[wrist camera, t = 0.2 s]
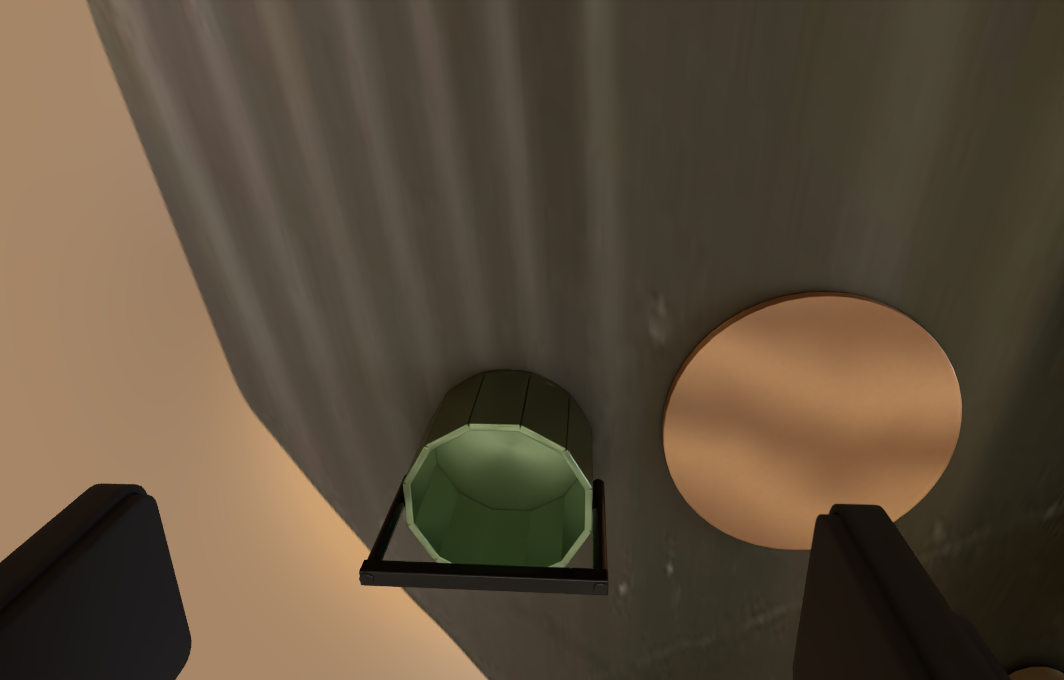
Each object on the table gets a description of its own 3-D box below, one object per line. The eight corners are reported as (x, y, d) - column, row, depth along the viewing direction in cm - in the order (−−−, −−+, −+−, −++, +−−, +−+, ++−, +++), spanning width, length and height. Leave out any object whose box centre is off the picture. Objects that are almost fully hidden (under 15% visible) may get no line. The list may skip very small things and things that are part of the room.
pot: (414, 367, 50) (346, 487, 36) (604, 371, 48) (611, 494, 35) (426, 507, 54) (370, 662, 40) (600, 513, 53) (605, 673, 39)
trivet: (670, 289, 46) (671, 294, 45) (984, 292, 44) (993, 297, 44) (654, 536, 53) (656, 545, 52) (923, 546, 52) (929, 554, 51)
